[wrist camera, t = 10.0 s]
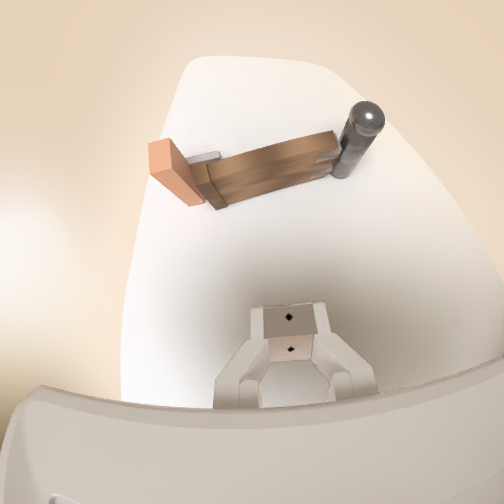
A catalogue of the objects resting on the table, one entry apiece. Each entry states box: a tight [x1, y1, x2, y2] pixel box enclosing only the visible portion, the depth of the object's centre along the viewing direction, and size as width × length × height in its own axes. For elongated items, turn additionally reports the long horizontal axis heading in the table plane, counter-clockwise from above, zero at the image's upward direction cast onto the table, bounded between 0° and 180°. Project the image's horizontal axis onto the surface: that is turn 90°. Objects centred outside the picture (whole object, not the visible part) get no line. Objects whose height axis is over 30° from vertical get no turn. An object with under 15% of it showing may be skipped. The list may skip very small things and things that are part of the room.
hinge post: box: [330, 101, 385, 179], centre depth 27 cm, size 3×3×14 cm
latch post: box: [148, 138, 223, 206], centre depth 29 cm, size 5×4×12 cm
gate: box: [190, 130, 342, 210], centre depth 29 cm, size 14×2×9 cm, turn 106°
